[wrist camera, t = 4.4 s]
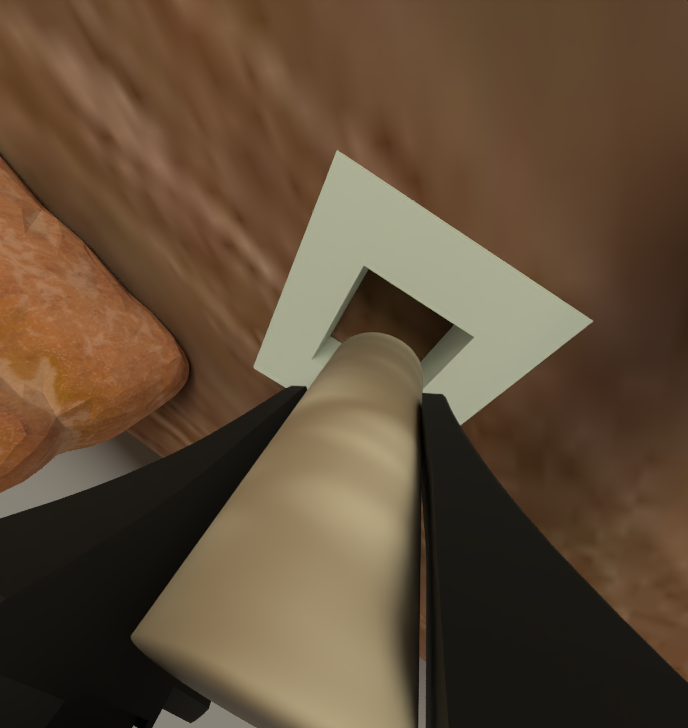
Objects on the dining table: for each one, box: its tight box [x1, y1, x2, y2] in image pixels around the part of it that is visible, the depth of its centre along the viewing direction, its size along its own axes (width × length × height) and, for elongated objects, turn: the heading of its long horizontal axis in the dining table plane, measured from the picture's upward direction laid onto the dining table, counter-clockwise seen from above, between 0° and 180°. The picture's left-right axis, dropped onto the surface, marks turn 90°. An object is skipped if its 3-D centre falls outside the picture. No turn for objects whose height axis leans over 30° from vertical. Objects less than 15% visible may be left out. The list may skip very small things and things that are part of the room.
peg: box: [131, 332, 423, 728], centre depth 7 cm, size 4×4×9 cm
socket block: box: [253, 150, 593, 425], centre depth 15 cm, size 12×12×4 cm
